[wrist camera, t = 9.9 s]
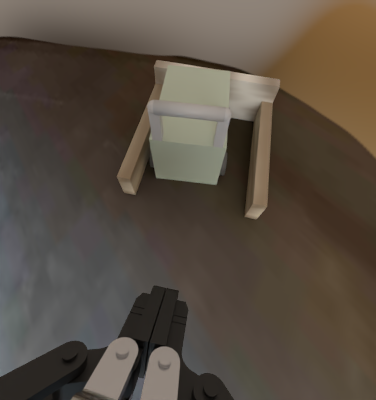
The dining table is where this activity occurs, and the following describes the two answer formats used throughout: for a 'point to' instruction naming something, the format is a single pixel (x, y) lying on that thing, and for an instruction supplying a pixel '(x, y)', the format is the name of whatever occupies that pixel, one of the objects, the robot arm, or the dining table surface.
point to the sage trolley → (190, 125)
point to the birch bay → (241, 109)
